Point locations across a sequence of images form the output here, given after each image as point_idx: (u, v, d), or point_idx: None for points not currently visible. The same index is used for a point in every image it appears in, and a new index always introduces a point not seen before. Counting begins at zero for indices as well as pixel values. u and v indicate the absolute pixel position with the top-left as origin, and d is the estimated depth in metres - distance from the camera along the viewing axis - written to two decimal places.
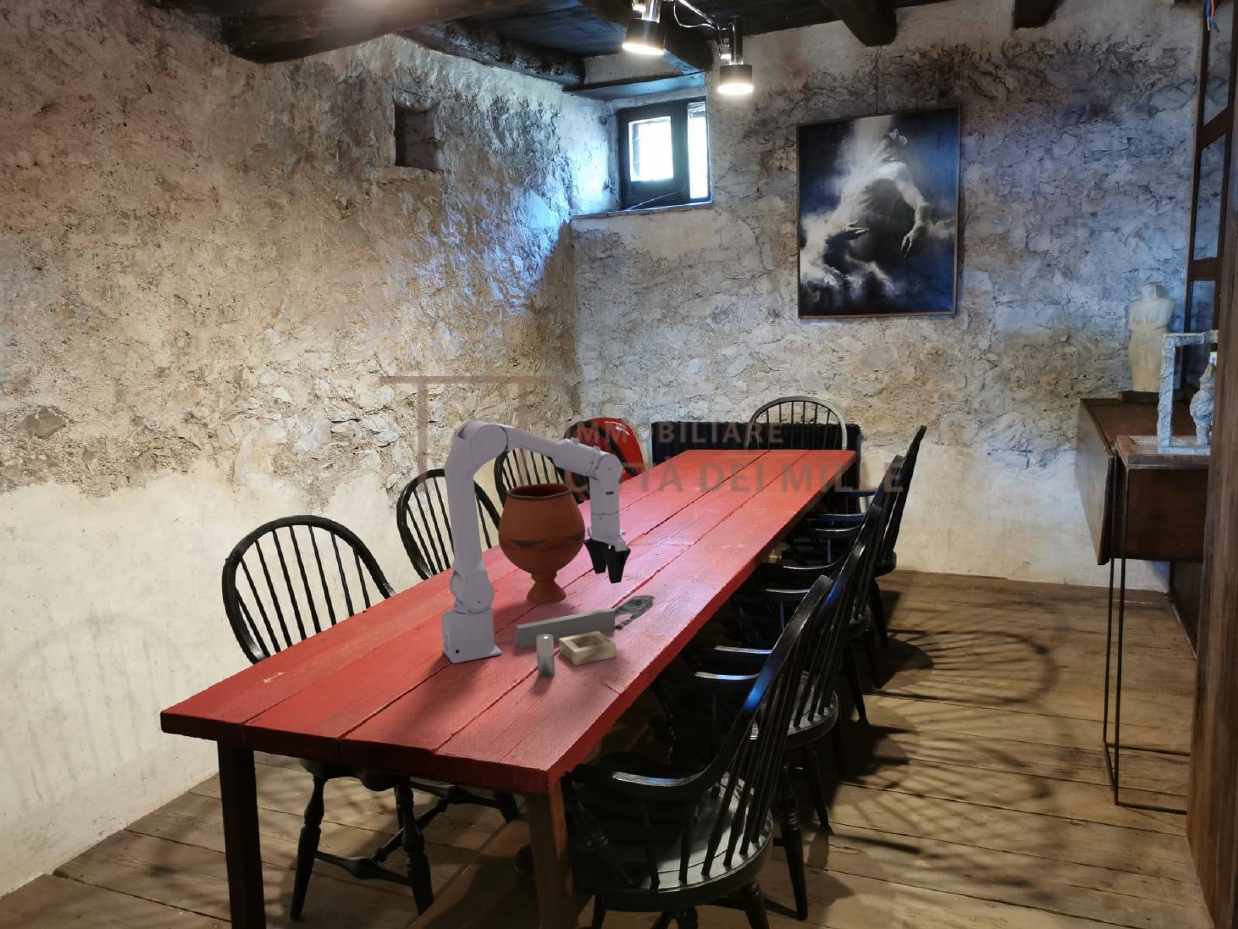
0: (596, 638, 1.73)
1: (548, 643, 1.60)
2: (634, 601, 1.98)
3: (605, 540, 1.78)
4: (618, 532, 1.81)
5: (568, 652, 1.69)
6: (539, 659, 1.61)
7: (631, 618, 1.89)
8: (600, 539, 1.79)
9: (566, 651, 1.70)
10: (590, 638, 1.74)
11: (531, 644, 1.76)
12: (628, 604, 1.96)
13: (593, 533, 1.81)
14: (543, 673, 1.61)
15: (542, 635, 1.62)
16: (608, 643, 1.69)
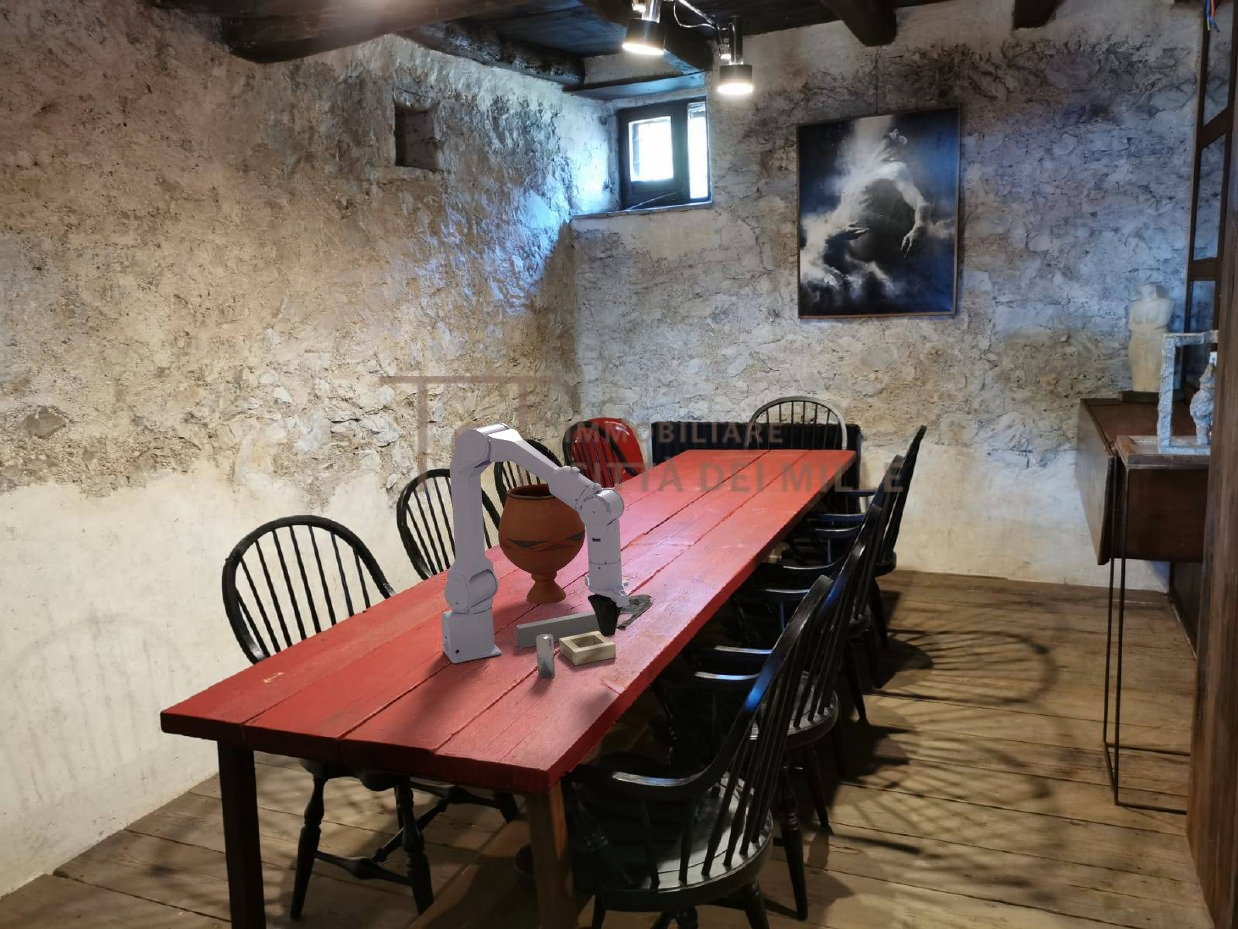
0: (596, 638, 1.73)
1: (548, 643, 1.60)
2: (632, 601, 1.98)
3: (605, 594, 1.55)
4: (620, 583, 1.58)
5: (568, 652, 1.69)
6: (539, 659, 1.61)
7: (632, 617, 1.89)
8: (598, 592, 1.56)
9: (566, 651, 1.70)
10: (590, 638, 1.74)
11: (531, 644, 1.76)
12: None
13: (591, 585, 1.58)
14: (543, 673, 1.61)
15: (542, 635, 1.62)
16: (608, 643, 1.69)
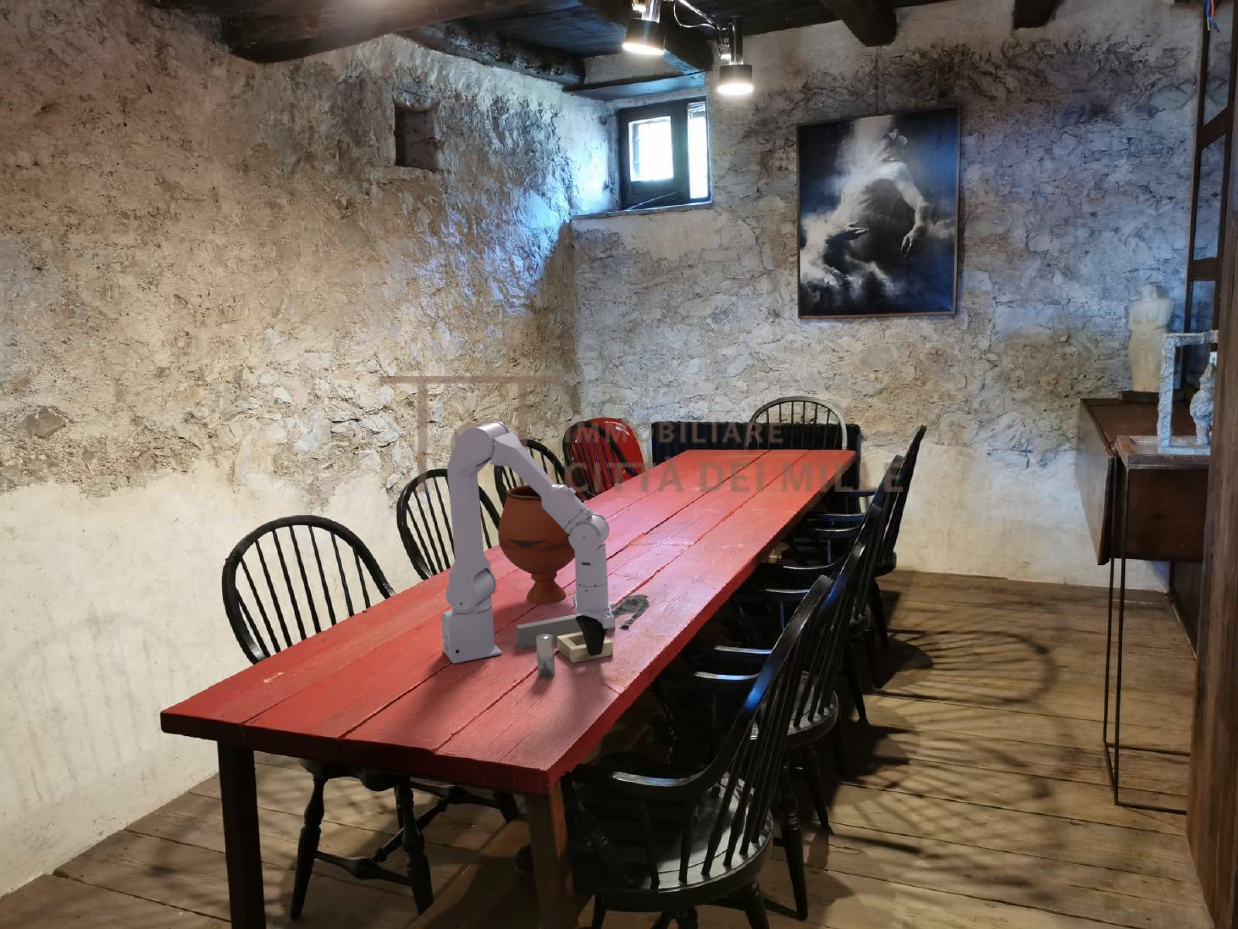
0: None
1: (548, 643, 1.60)
2: (631, 601, 1.98)
3: (591, 615, 1.62)
4: (606, 605, 1.64)
5: (565, 649, 1.70)
6: (539, 659, 1.61)
7: (633, 618, 1.90)
8: (585, 614, 1.63)
9: (563, 649, 1.71)
10: None
11: (531, 644, 1.76)
12: (626, 604, 1.96)
13: (578, 606, 1.64)
14: (543, 673, 1.61)
15: (542, 635, 1.62)
16: (605, 641, 1.70)
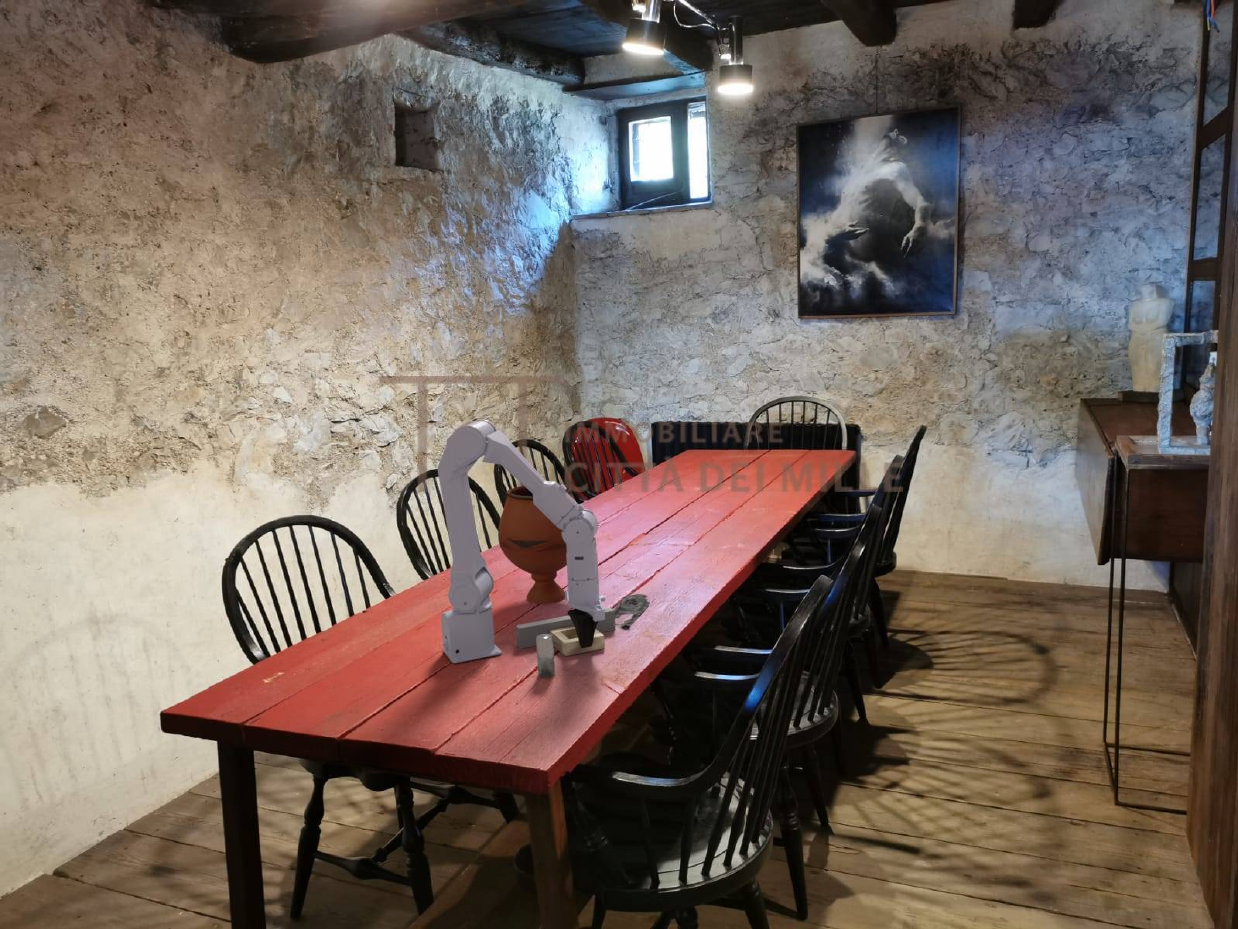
0: None
1: (548, 643, 1.60)
2: (630, 600, 1.98)
3: (582, 608, 1.65)
4: (597, 599, 1.68)
5: (558, 643, 1.73)
6: (539, 659, 1.61)
7: (634, 617, 1.90)
8: (577, 607, 1.67)
9: (556, 642, 1.74)
10: None
11: (531, 644, 1.76)
12: (625, 604, 1.96)
13: (570, 600, 1.68)
14: (543, 673, 1.61)
15: (542, 635, 1.62)
16: (597, 635, 1.74)
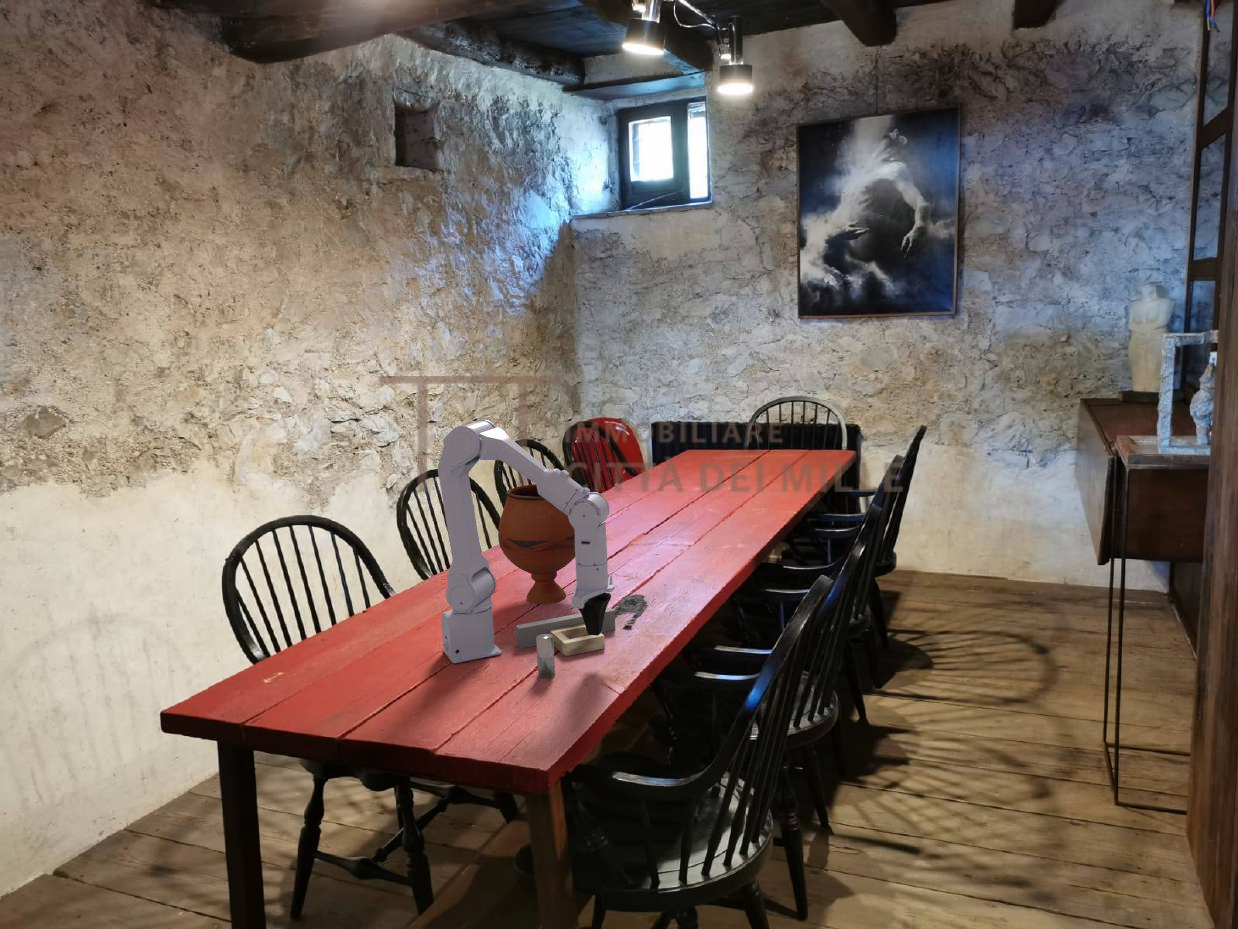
0: (586, 630, 1.77)
1: (549, 643, 1.60)
2: (629, 601, 1.98)
3: None
4: (596, 587, 1.62)
5: (558, 643, 1.73)
6: (539, 659, 1.61)
7: (634, 617, 1.90)
8: (575, 590, 1.64)
9: (556, 642, 1.74)
10: (580, 630, 1.78)
11: (531, 644, 1.76)
12: (625, 604, 1.96)
13: None
14: (543, 673, 1.61)
15: (542, 635, 1.62)
16: None
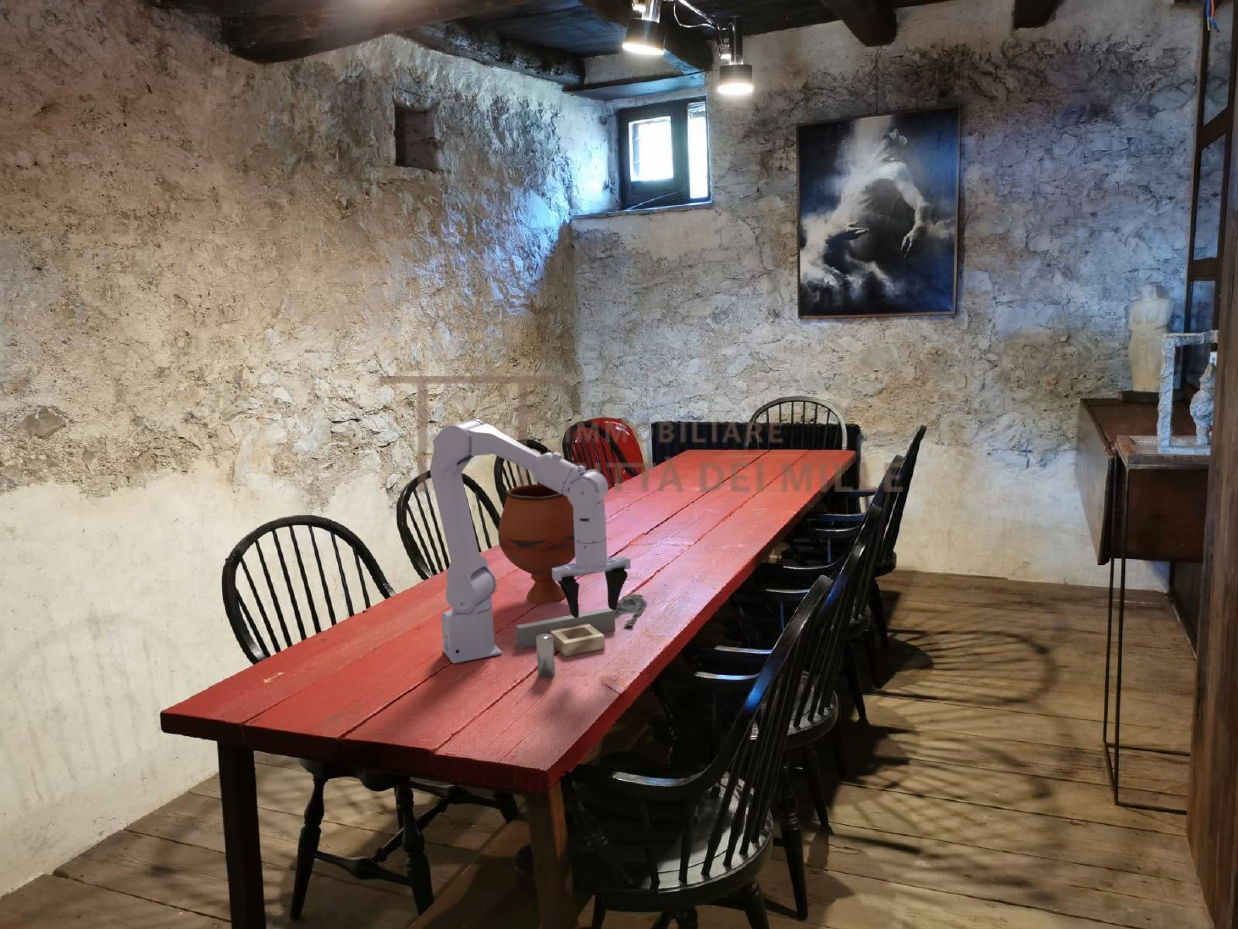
0: (586, 630, 1.77)
1: (548, 643, 1.60)
2: (628, 601, 1.98)
3: None
4: (583, 565, 1.62)
5: (558, 643, 1.73)
6: (539, 659, 1.61)
7: (635, 617, 1.90)
8: None
9: (556, 642, 1.74)
10: (580, 630, 1.78)
11: (531, 644, 1.76)
12: (624, 604, 1.96)
13: None
14: (543, 673, 1.61)
15: (542, 635, 1.62)
16: (597, 635, 1.74)
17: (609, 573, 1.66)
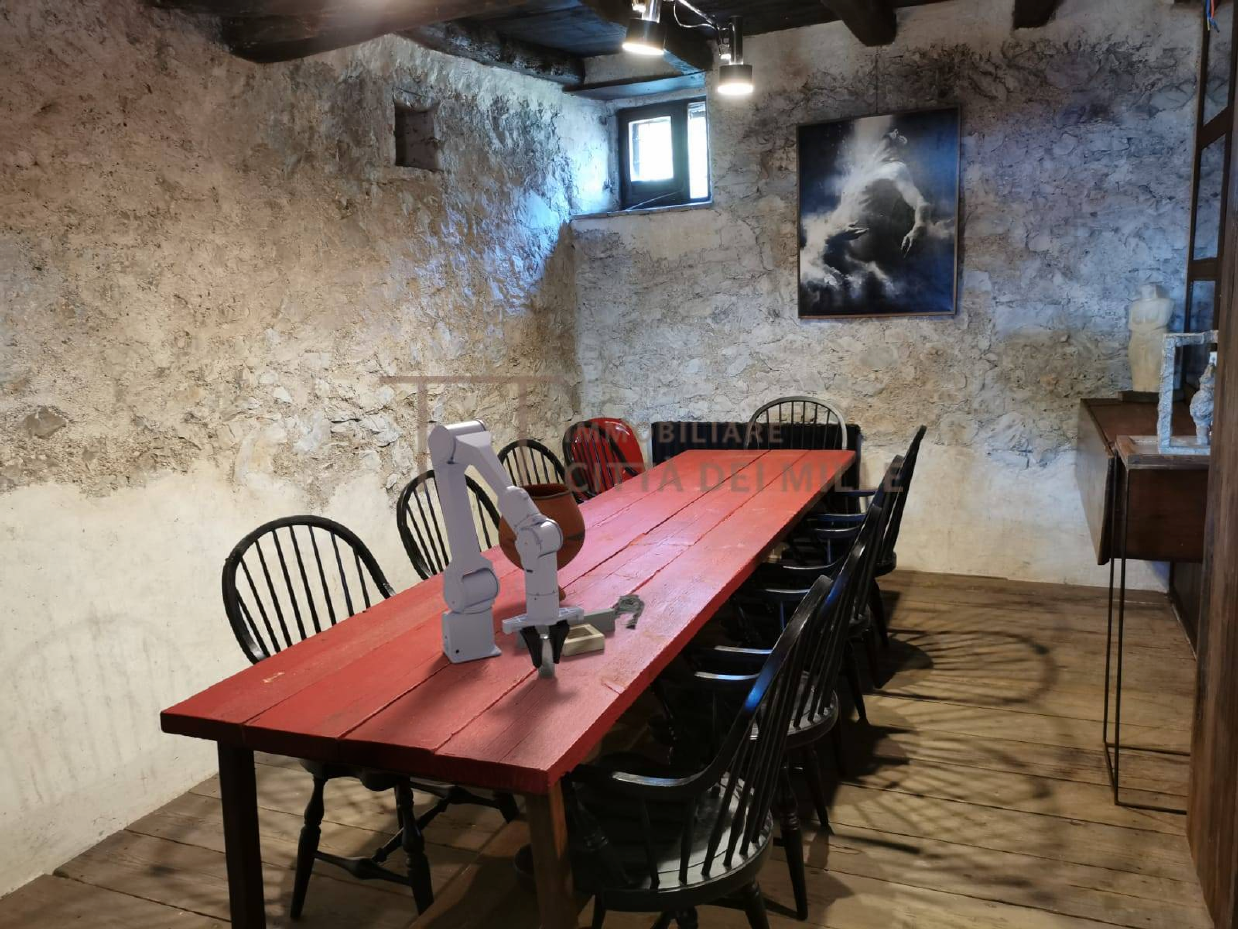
0: (586, 630, 1.77)
1: (548, 643, 1.60)
2: (626, 601, 1.98)
3: None
4: (534, 617, 1.58)
5: None
6: None
7: (635, 617, 1.90)
8: None
9: None
10: (580, 630, 1.78)
11: None
12: (622, 604, 1.96)
13: None
14: (543, 673, 1.61)
15: (542, 635, 1.62)
16: (597, 635, 1.74)
17: (552, 626, 1.62)
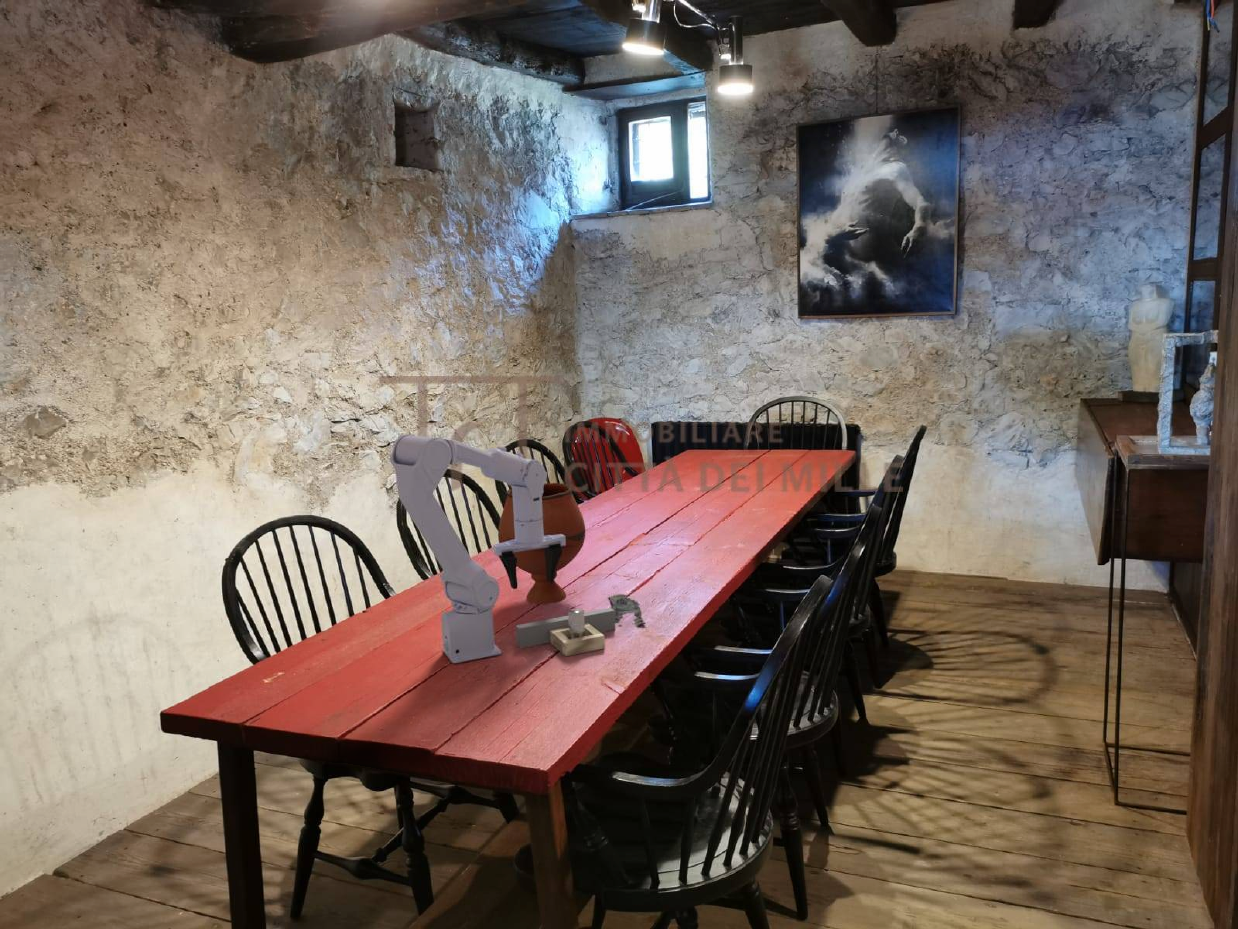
0: (586, 630, 1.77)
1: (579, 616, 1.73)
2: (620, 601, 1.98)
3: None
4: (521, 541, 1.80)
5: (558, 643, 1.73)
6: (570, 631, 1.74)
7: (638, 615, 1.91)
8: None
9: (556, 642, 1.74)
10: None
11: (531, 644, 1.76)
12: (618, 604, 1.96)
13: None
14: None
15: (574, 610, 1.75)
16: (597, 635, 1.74)
17: (547, 549, 1.85)
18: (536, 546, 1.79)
